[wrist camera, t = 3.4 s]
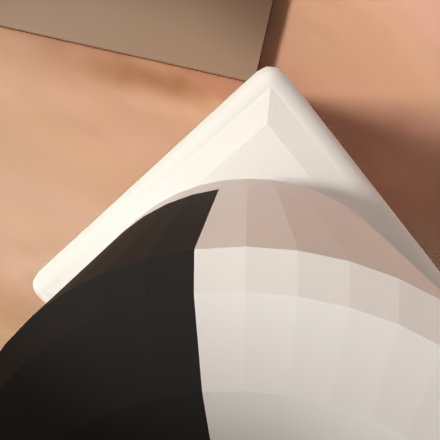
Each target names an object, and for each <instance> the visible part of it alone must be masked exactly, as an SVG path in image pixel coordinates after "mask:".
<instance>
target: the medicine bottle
mask: <svg viewBox="0 0 440 440" xmlns="http://www.w3.org/2000/svg"><path fill="white" fill-rule="evenodd" d="M33 289H34V291H35V292H36V294H37V295H38V296H39V297H40V298H41V299H42V300H43V301H44V302H45V303H46V304H45V305H44V306H43V307H42V308H41V309H40V310H38V311H37V312H36V313H35V314H34V315H33V316H32V317H31V318H30V319H29V320H28V321H27V322H26V323H25V324H24V325H23V326H22V327H21V328H20V329H19V330H18V332H17V333H16V334H15V335H14V336H13V337H12V338H11V339H10V340H9V341H8V342H7V343H6V344H5V345H4V347H3V348H2V350H1V351H0V440H440V271H439V270H438V269H437V267H436V266H435V265H434V264H433V262H432V261H431V260H430V258H429V257H428V256H427V255H426V253H425V252H424V251H423V249H422V248H421V247H420V246H419V244H418V243H417V242H416V240H415V239H414V238H413V237H412V235H411V234H410V233H409V231H408V230H407V229H406V228H405V226H404V225H403V224H402V222H401V221H400V220H399V219H398V217H397V216H396V215H395V213H394V212H393V211H392V210H391V208H390V207H389V206H388V204H387V203H386V202H385V201H384V199H383V198H382V197H381V195H380V194H379V193H378V192H377V190H376V189H375V188H374V186H373V185H372V184H371V183H370V181H369V180H368V179H367V177H366V176H365V175H364V174H363V172H362V171H361V170H360V168H359V167H358V166H357V165H356V163H355V162H354V161H353V159H352V158H351V157H350V156H349V154H348V153H347V152H346V150H345V149H344V148H343V147H342V145H341V144H340V143H339V141H338V140H337V139H336V138H335V136H334V135H333V134H332V132H331V131H330V130H329V129H328V127H327V126H326V125H325V124H324V122H323V121H322V120H321V118H320V117H319V116H318V115H317V113H316V112H315V111H314V109H313V108H312V107H311V106H310V104H309V103H308V102H307V100H306V99H305V98H304V97H303V95H302V94H301V93H300V91H299V90H298V89H297V88H296V86H295V85H294V84H293V82H292V81H291V80H290V79H289V77H288V76H287V75H286V73H284V72H283V71H282V70H280V69H279V68H277V67H268V66H266V67H264V68H262V69H260V70H259V71H257V72H256V73H255V74H253V75H252V76H251V77H250V78H249V79H248V80H247V81H246V82H245V83H244V84H243V85H241V86H240V87H239V88H238V89H237V90H236V91H235V92H234V93H233V94H232V95H231V96H229V97H228V98H227V99H226V100H225V101H224V102H223V103H222V104H221V105H220V106H219V107H217V108H216V109H215V110H214V111H213V112H212V113H211V114H210V115H209V116H208V117H207V118H206V119H204V120H203V121H202V122H201V123H200V124H199V125H198V126H197V127H196V128H195V129H194V130H192V131H191V132H190V133H189V134H188V135H187V136H186V137H185V138H184V139H183V140H182V141H180V142H179V143H178V144H177V145H176V146H175V147H174V148H173V149H172V150H171V151H170V152H168V153H167V154H166V155H165V156H164V157H163V158H162V159H161V160H160V161H159V162H158V163H157V164H155V165H154V166H153V167H152V168H151V169H150V170H149V171H148V172H147V173H146V174H145V175H143V176H142V177H141V178H140V179H139V180H138V181H137V182H136V183H135V184H134V185H133V186H131V187H130V188H129V189H128V190H127V191H126V192H125V193H124V194H123V195H122V196H121V197H120V198H118V199H117V200H116V201H115V202H114V203H113V204H112V205H111V206H110V207H109V208H108V209H106V210H105V211H104V212H103V213H102V214H101V215H100V216H99V217H98V218H97V219H96V220H94V221H93V222H92V223H91V224H90V225H89V226H88V227H87V228H86V229H85V230H84V231H82V232H81V233H80V234H79V235H78V236H77V237H76V238H75V239H74V240H73V241H72V242H71V243H69V244H68V245H67V246H66V247H65V248H64V249H63V250H62V251H61V252H60V253H59V254H57V255H56V256H55V257H54V258H53V259H52V260H51V261H50V262H49V263H48V264H47V265H45V266H44V267H43V268H42V269H41V270H40V271H39V272H38V274H37V276H36V277H35V279H34V281H33Z"/></svg>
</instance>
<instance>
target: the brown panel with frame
mask: <svg viewBox="0 0 440 440" xmlns="http://www.w3.org/2000/svg"><path fill="white" fill-rule="evenodd" d="M272 2H273V0H0V27H5V28H9V29H14V30H18V31H23V32H27V33H31V34H36V35H40V36H45V37H49V38H54V39H58V40H63V41H67V42H72V43H76V44H81V45H85V46H89V47H94V48H98V49H103V50H107V51H112V52H116V53H121V54H125V55H130V56H134V57H138V58H143V59H147V60H152V61H156V62H161V63H165V64H170V65H174V66H179V67H183V68H187V69H192V70H196V71H201V72H205V73H210V74H214V75H219V76H223V77H228V78H232V79H236V80H241V81H245V82H246V81H247V80H248V79H249V78H250V77H251V76H252V75H253V74H255V73H256V72H257V68H258V63H259V59H260V55H261V50H262V46H263V41H264V37H265V33H266V28H267V24H268V19H269V15H270V11H271V6H272Z"/></svg>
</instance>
